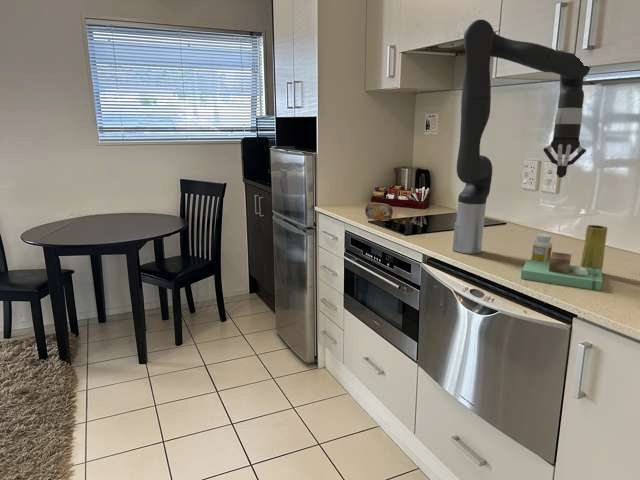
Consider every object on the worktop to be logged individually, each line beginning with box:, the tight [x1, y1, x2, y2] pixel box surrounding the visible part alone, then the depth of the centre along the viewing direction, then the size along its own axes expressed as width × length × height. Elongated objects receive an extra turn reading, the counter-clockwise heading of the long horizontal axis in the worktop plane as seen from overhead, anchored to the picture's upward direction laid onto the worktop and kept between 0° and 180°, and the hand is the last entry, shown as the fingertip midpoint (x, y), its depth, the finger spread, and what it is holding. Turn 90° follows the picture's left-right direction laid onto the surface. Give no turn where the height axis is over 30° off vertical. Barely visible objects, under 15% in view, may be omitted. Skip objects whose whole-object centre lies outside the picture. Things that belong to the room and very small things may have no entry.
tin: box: [365, 202, 394, 222], centre depth 220 cm, size 15×3×8 cm, turn 42°
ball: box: [572, 267, 588, 275], centre depth 134 cm, size 4×4×4 cm
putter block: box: [549, 251, 572, 274], centre depth 136 cm, size 5×8×4 cm, turn 150°
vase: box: [580, 224, 608, 273], centre depth 141 cm, size 6×6×14 cm
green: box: [520, 259, 603, 291], centre depth 137 cm, size 20×14×2 cm
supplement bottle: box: [530, 233, 553, 262], centre depth 149 cm, size 5×5×10 cm
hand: (560, 177), depth 155 cm, fingers closed
